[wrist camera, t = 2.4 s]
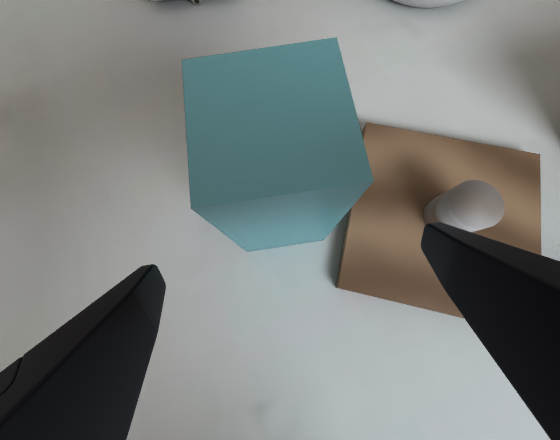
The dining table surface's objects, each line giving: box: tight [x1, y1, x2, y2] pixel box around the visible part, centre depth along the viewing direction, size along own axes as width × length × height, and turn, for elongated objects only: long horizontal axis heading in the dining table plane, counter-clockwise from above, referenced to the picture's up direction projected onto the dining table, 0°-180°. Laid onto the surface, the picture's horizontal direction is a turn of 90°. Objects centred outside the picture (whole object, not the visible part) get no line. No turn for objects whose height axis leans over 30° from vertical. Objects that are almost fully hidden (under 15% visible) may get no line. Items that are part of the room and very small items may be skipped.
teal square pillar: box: [182, 37, 374, 252], centre depth 15 cm, size 6×6×12 cm
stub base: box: [336, 123, 541, 318], centre depth 18 cm, size 14×14×4 cm
